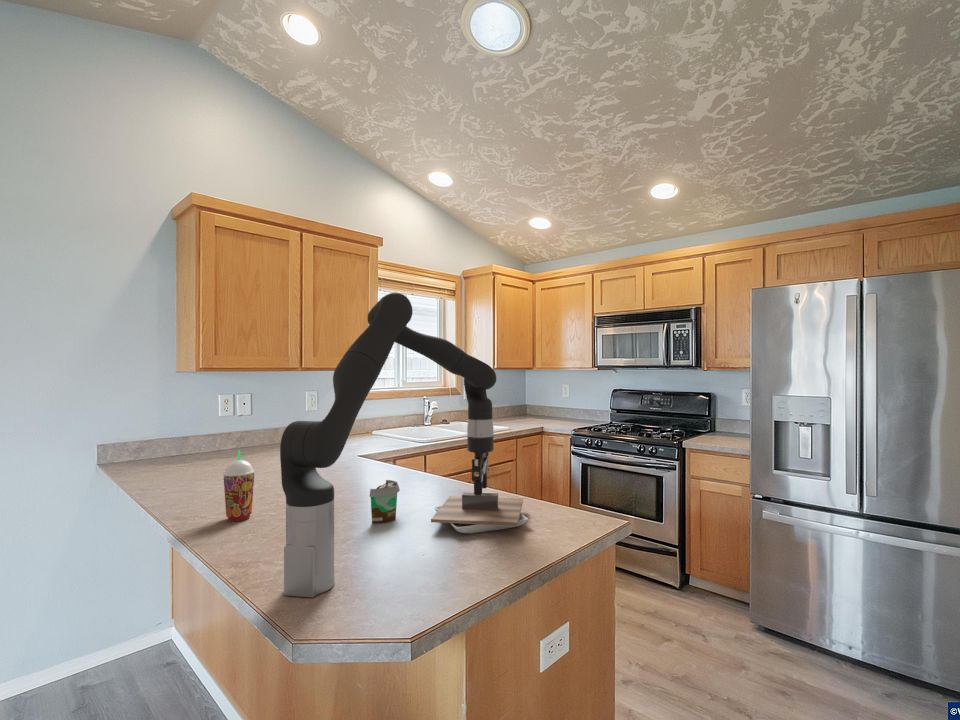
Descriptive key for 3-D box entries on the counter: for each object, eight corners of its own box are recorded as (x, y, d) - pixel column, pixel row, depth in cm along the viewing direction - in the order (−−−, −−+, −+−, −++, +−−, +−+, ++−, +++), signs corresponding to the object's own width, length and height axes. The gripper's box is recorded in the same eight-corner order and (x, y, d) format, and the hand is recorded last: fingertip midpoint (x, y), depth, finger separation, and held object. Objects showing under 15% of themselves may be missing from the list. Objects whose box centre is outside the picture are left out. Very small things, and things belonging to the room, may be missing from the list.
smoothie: (216, 520, 140) (216, 451, 140) (242, 512, 147) (242, 447, 148) (235, 524, 136) (235, 453, 136) (260, 516, 143) (260, 449, 144)
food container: (390, 526, 133) (390, 490, 134) (369, 525, 135) (369, 489, 135) (405, 513, 145) (405, 480, 146) (386, 512, 147) (386, 479, 147)
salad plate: (498, 509, 150) (498, 498, 150) (530, 530, 131) (529, 517, 131) (433, 517, 143) (433, 505, 143) (456, 541, 123) (456, 527, 123)
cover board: (517, 525, 124) (517, 507, 124) (431, 522, 128) (430, 504, 128) (523, 501, 147) (522, 485, 147) (449, 498, 150) (449, 483, 150)
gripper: (489, 438, 130) (490, 498, 130) (496, 431, 144) (497, 486, 144) (462, 437, 131) (462, 497, 131) (472, 431, 145) (472, 485, 145)
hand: (480, 491), depth 137 cm, fingers open, 8 cm apart
